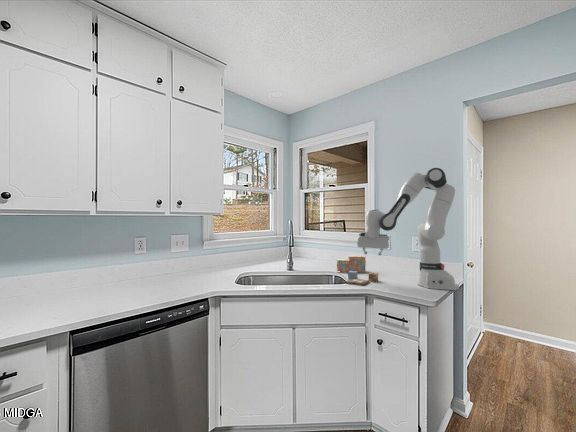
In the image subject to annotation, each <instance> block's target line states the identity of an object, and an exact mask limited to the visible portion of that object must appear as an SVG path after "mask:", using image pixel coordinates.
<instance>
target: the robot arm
mask: <svg viewBox="0 0 576 432" xmlns="http://www.w3.org/2000/svg"><path fill="white" fill-rule="evenodd" d="M447 182H448V181H447V177H446V173H445V171H444V170H443V169H442V168H440V167H434V168H433V167H432V168H431V169H429V170H428V171H427V173H426V174H422V173H420V172H415V173H412V175H410V177H408V178H407V180H406V181H404V183H403V184H402V186H401V188H400V190H399V191H398V195H397V199H396V201H395V203H394V204H393V205H392V207H391V208H390V209H389V211H388V212H387V213H385V212H382V211H381V210H379V209H371V210H369V211H367V212H366V217H365V222H366V223H365V224H366V227H365V228H366V229H365V231H363V232H359V233H358V238H357V243H356V245H357V247H358V248H362V250H363V254H364V255H368V251H366V249H367V248H368V249H379V250H380V252H378V256H382V253H383V252H384V250H387V249H389V247H390V244H389V241H390V236H389V235H388V234H381V230H384V231H387V232H389V231H392V230H394V229H395V227H396V225H397V222H398V221H397V220H398V219H399V217H400V215H401V213H402V212H403V211H404V210H405V208H406V207H407V206H408V205H410V203H412V202H414V200H415V199H416V198H417V197H418V196H419V194H420V193H421V192H422V190H423V189H428V190H431V191H434V194H433V197H432V199H431V202H430V205H429V207H428V209H427V218H426V221H424V222H422V223H420V224H419V225H418V226H417V228H416V233H417V237H418V243H419V249H420V257H419V258H420V262H419V271H420V272H419V278H418V282H417V285H418V286H421V287H424V288H426V289H435V290H445V291H446V290H448V291H457V290H460V285H459V284H457V283H456V281H455V278H454V276H453V275H452V274H451V273H449V272H448V271H447V270H445V264H444V263H442V262H441V249H440V247H439V242H438V241H439V240H441V239H443V238H444V236H445V235H446V234H445V233H446V231H445V227H446V222H447V218H448V214H449V212H450V209H451V207H452V204H453V202H454V198H455V193H456V189H455V187H454V186H452V185H451V184H448V183H447Z"/></svg>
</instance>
